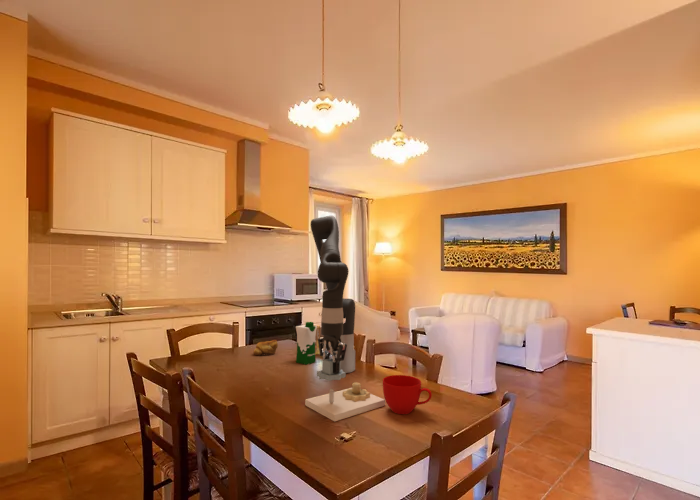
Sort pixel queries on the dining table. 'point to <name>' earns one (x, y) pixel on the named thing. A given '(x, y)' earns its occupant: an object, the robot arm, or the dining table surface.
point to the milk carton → (306, 343)
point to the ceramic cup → (403, 393)
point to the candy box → (317, 336)
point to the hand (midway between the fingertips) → (331, 371)
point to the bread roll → (266, 348)
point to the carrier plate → (345, 402)
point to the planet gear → (329, 371)
